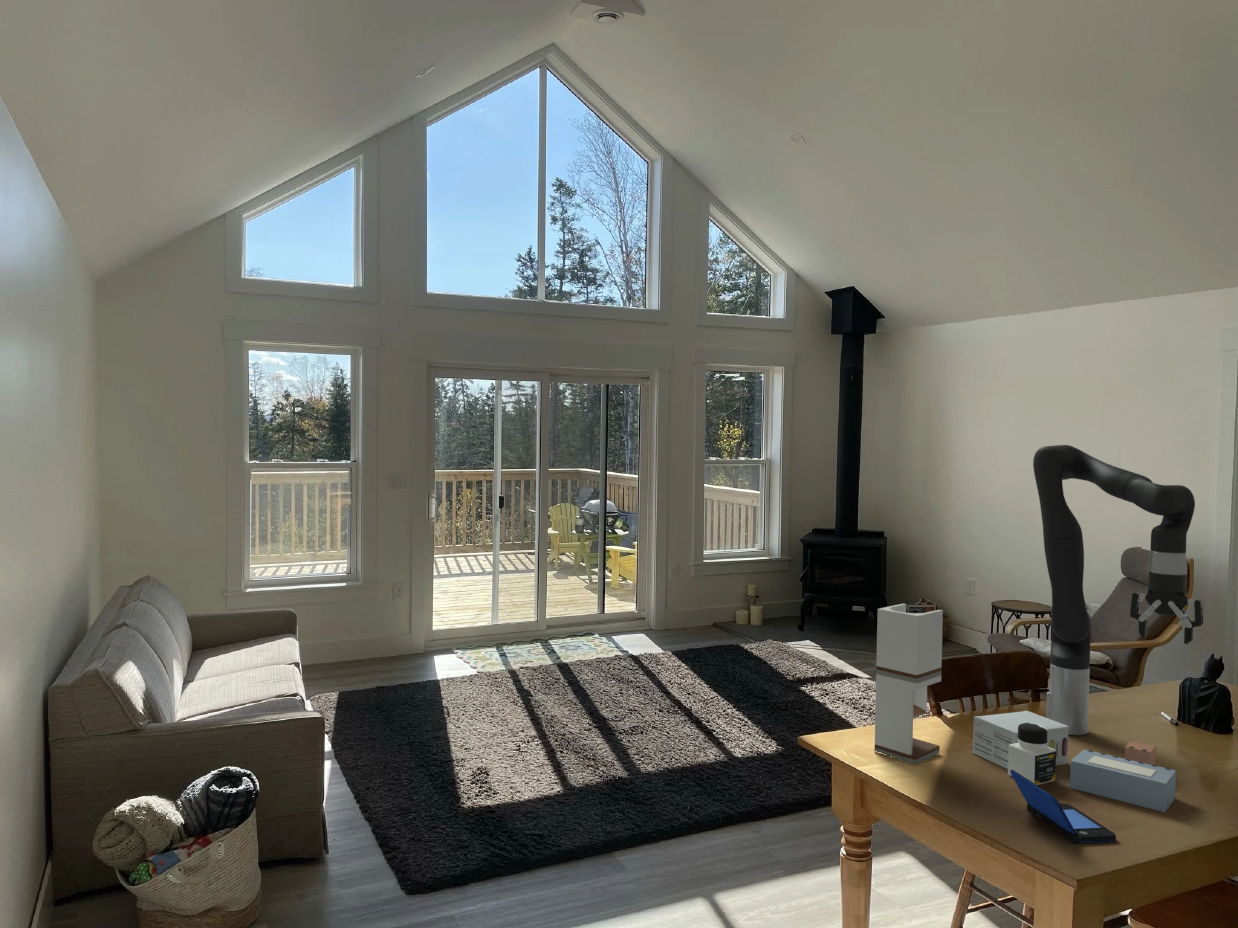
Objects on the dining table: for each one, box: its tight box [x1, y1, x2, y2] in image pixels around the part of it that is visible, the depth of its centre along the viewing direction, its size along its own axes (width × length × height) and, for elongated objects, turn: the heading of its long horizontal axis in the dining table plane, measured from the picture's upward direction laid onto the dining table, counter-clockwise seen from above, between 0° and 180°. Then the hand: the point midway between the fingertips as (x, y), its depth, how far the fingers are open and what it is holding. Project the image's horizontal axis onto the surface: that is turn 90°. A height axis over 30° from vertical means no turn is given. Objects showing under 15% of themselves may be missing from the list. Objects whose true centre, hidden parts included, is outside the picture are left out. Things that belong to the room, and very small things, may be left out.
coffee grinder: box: [874, 603, 944, 766], centre depth 210 cm, size 11×11×35 cm
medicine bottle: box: [1007, 723, 1057, 786], centre depth 196 cm, size 7×7×12 cm
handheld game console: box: [1010, 770, 1117, 844], centre depth 172 cm, size 16×13×9 cm
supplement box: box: [972, 710, 1069, 770], centre depth 209 cm, size 17×13×9 cm
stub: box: [1124, 740, 1157, 765], centre depth 200 cm, size 5×6×6 cm
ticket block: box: [1069, 749, 1177, 813], centre depth 188 cm, size 18×10×6 cm, turn 47°
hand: (1165, 640), depth 202 cm, fingers open, 8 cm apart
